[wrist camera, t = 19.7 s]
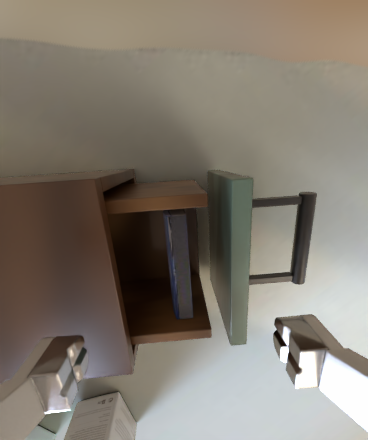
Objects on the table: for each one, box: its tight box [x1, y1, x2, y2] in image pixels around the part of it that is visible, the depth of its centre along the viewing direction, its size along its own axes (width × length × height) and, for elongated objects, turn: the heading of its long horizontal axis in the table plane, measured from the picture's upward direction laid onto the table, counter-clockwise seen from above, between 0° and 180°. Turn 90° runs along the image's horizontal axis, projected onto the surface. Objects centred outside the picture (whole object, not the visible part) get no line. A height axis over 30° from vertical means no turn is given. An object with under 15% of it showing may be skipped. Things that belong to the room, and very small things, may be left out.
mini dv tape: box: [163, 208, 193, 320], centre depth 16 cm, size 8×2×6 cm, turn 4°
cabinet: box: [0, 169, 138, 384], centre depth 16 cm, size 15×13×10 cm
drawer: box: [103, 170, 317, 345], centre depth 16 cm, size 20×12×8 cm, turn 94°
